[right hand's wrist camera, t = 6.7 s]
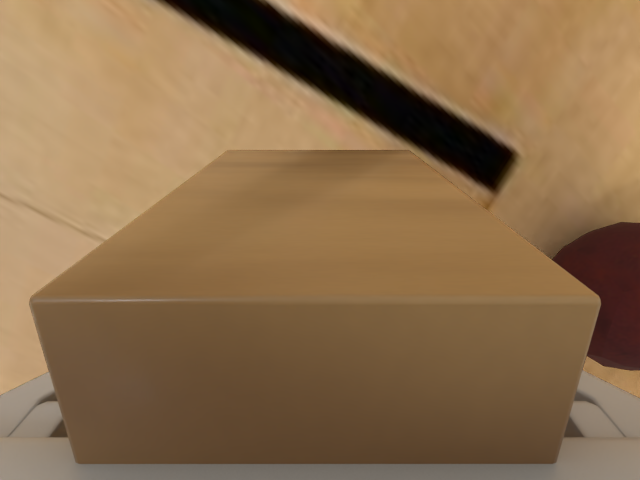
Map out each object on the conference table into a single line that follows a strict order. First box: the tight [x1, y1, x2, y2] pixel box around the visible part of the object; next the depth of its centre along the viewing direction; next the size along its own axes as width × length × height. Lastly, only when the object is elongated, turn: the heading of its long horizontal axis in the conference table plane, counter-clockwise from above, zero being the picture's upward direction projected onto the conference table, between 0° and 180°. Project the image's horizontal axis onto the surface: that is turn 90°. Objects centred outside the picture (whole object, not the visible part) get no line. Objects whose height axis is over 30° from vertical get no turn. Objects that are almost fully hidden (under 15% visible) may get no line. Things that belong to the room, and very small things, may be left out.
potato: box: [552, 222, 640, 370], centre depth 21 cm, size 7×8×7 cm
